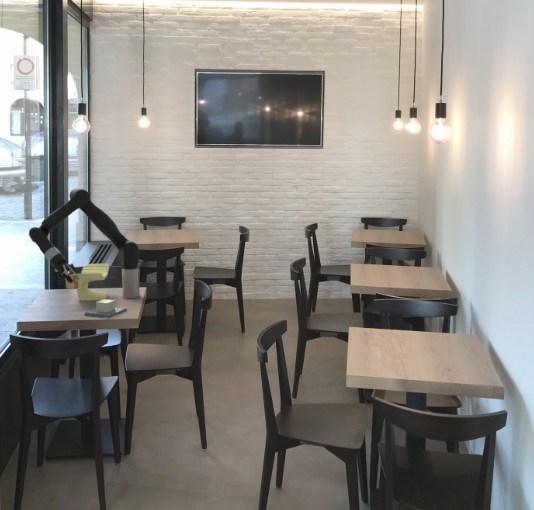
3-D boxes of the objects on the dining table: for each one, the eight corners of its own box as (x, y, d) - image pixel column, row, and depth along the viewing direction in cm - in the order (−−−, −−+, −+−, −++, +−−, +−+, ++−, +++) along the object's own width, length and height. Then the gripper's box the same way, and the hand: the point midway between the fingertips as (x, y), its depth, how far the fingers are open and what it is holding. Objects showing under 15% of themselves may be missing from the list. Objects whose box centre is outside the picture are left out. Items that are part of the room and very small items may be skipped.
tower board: (102, 308, 396) (102, 296, 395) (127, 311, 390) (126, 299, 389) (84, 315, 381) (83, 303, 380) (109, 318, 375) (108, 305, 374)
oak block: (71, 287, 388) (70, 273, 386) (78, 287, 386) (77, 274, 385) (66, 288, 384) (65, 275, 382) (72, 289, 382) (72, 275, 381)
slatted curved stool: (84, 292, 435) (82, 264, 432) (110, 292, 436) (109, 263, 433) (74, 304, 406) (72, 273, 403) (103, 303, 407) (101, 273, 404)
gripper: (49, 255, 378) (69, 279, 375) (67, 250, 391) (86, 274, 388) (42, 264, 381) (62, 288, 378) (60, 259, 394) (79, 282, 391)
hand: (74, 280), depth 383 cm, fingers closed on oak block, 4 cm apart
